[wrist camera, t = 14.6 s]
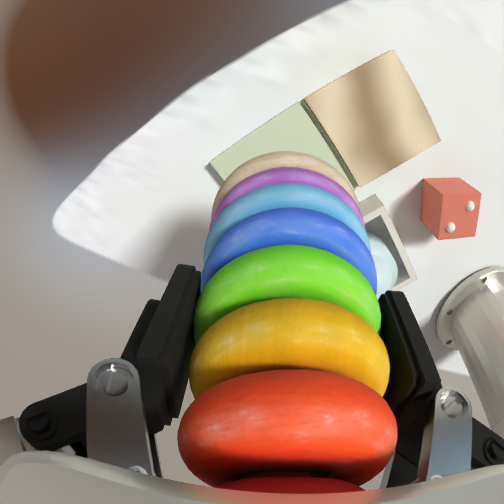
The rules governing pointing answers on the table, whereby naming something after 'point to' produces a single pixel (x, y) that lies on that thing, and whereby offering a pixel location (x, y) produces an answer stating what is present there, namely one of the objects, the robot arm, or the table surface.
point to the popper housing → (387, 238)
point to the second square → (278, 142)
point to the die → (450, 207)
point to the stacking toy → (287, 337)
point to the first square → (374, 117)
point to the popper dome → (382, 264)
